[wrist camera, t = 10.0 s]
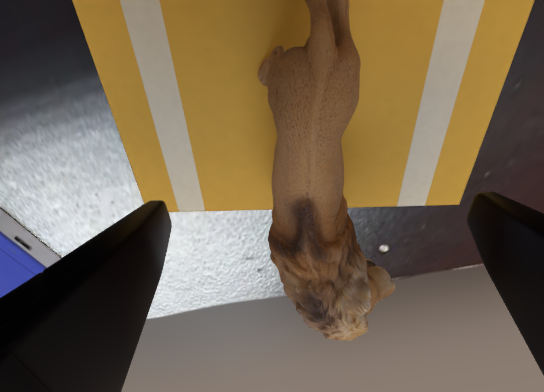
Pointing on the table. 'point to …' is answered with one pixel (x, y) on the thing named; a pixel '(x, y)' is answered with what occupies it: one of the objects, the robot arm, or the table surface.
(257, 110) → the towel
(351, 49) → the lion figurine
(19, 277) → the hard drive
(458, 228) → the table surface
